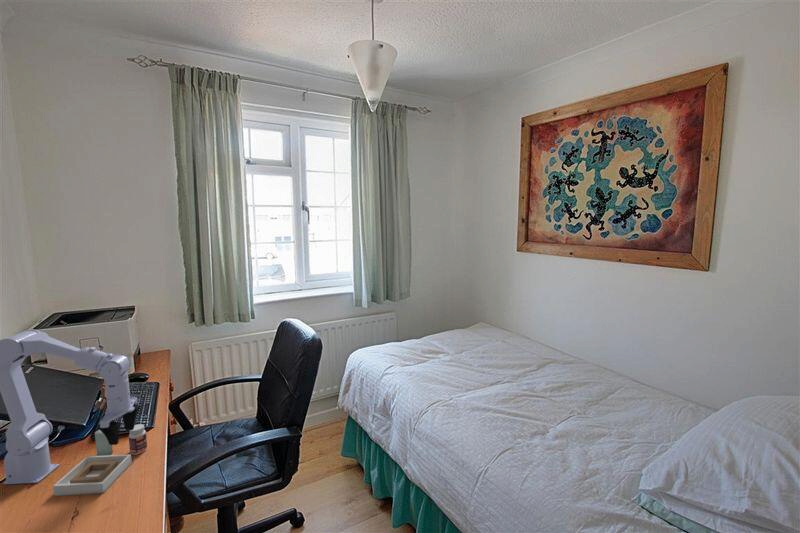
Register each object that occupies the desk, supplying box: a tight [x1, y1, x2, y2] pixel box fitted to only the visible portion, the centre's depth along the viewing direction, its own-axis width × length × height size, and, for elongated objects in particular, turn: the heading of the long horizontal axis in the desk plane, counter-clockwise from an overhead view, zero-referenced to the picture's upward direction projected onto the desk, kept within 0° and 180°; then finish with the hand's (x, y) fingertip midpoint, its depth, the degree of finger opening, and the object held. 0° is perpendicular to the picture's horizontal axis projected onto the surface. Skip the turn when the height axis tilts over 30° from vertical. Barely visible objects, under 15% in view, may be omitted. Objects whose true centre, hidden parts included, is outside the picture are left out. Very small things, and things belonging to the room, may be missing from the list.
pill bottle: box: [128, 423, 148, 456], centre depth 125 cm, size 5×5×8 cm
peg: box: [94, 429, 114, 456], centre depth 124 cm, size 4×4×8 cm
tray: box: [52, 453, 133, 497], centre depth 113 cm, size 13×13×3 cm
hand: (122, 436), depth 117 cm, fingers open, 7 cm apart
